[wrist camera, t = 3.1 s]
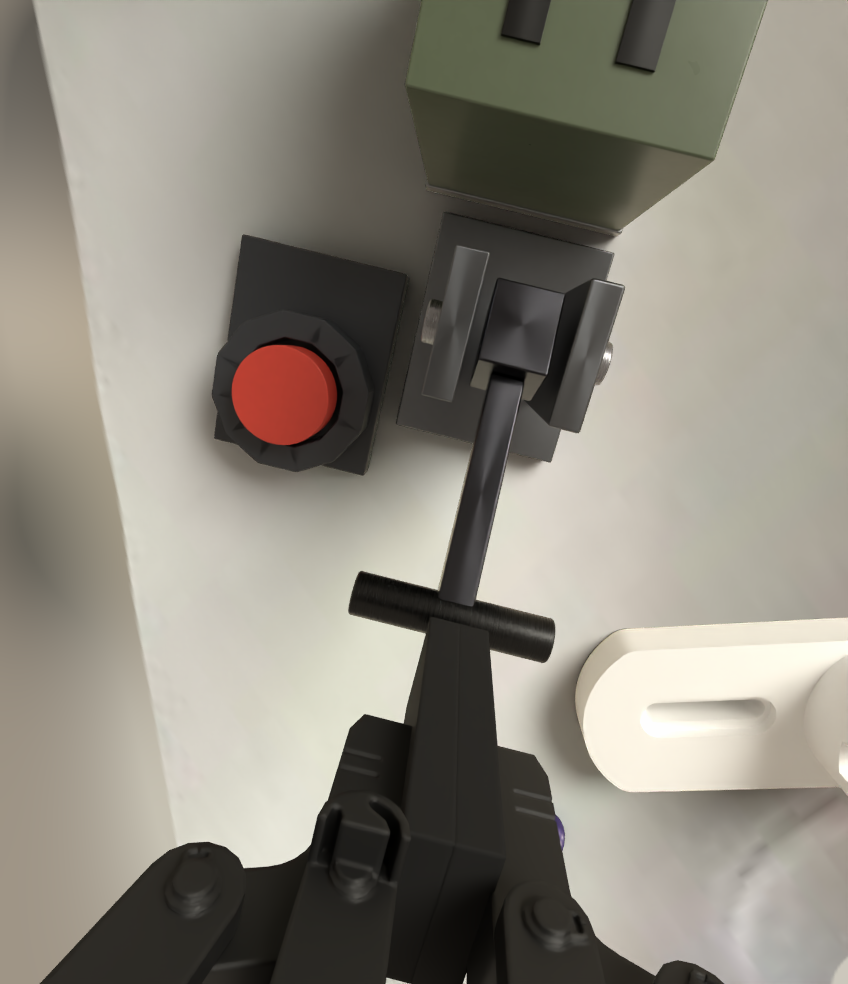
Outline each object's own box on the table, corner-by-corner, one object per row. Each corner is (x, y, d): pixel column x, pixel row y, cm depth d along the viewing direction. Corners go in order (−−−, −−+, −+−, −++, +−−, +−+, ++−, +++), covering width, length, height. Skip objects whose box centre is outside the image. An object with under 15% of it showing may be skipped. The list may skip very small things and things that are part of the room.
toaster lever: (534, 658, 18) (554, 669, 16) (351, 612, 18) (343, 616, 16) (600, 341, 20) (626, 307, 18) (434, 300, 20) (437, 261, 18)
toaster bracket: (547, 458, 29) (598, 530, 18) (398, 421, 29) (355, 469, 18) (608, 256, 27) (713, 192, 15) (444, 216, 27) (428, 122, 15)
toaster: (488, -98, 24) (506, -463, 13) (702, -47, 24) (899, -372, 13) (426, 190, 27) (399, 87, 16) (616, 237, 27) (718, 164, 16)
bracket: (959, 611, 30) (1094, 685, 23) (938, 752, 32) (1057, 855, 26) (572, 631, 32) (599, 704, 25) (577, 763, 34) (603, 862, 27)
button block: (251, 238, 28) (226, 225, 25) (409, 277, 28) (402, 269, 25) (222, 437, 30) (196, 447, 28) (367, 473, 30) (356, 487, 27)
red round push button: (253, 334, 26) (238, 334, 25) (345, 357, 26) (337, 358, 25) (239, 426, 27) (224, 432, 26) (327, 448, 27) (318, 455, 26)
